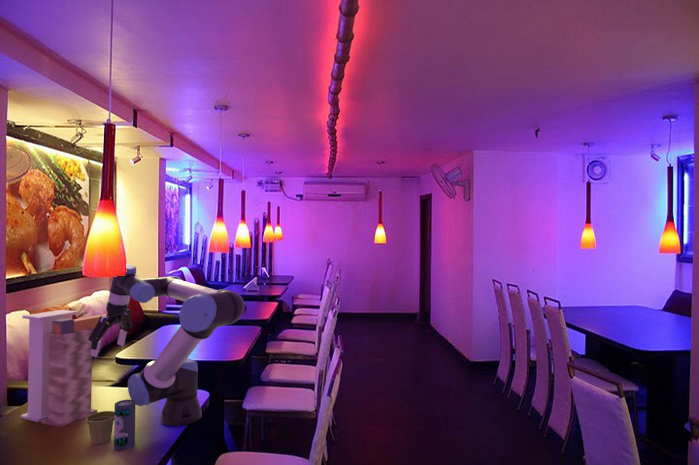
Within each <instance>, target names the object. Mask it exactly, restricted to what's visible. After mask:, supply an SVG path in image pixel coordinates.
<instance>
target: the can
mask: <svg viewBox="0 0 699 465" xmlns="http://www.w3.org/2000/svg"><path fill="white" fill-rule="evenodd" d="M114 412H115V414H114V423H113V434H114V435H113V450H114V451H116V452H124V451H128V450H129V451H130V450H131V449H133V448H134V447H135V445H136V402H135V400H131V398H130V399H123V400H119V401H117V402H115V403H114Z"/></svg>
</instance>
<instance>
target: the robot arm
mask: <svg viewBox="0 0 699 465" xmlns="http://www.w3.org/2000/svg"><path fill="white" fill-rule="evenodd" d="M126 268H127V272H126V275H125V276H117V277H113V276H112V281H111V285H110V290H109V295H108V298H107V299H108V301H107V302H106V306H105V309H106V314H107V315H106V316H105V317H103V316H100V318H99V321H98V323H97V325H96V326H95V328H94V330H93V332H92V333H91V335H90V337H89V339H88V340H89V341H91V342H92V346H91V354H90V355H91V356H92V358H98V357H99V356H98V355H99V351H100V347H101V340H102V338H103V337H104V335H105V334H106V333H107V331H108V330H109V329H110V328H112V327H113V325H117V324H119V326H120V327H121V329H120V330H119V333H118V338H117V343H116V344H117V345H119V346H121V347H123V346H124V345H125V343H126V338H127V335H128V332H131V329H132V328H133V322H132V316H131V309H128V308H129V303H130V301H131V300H130V299H131V298H132V300H134V301H136V302H138V303H142V304H146V303H148V302H150V301H151V300H153V298H158V297H169V298H172V299H175V300H178V301H182V305H181V306H180V308H179V309H180V310H179V313H180V314H178V316H179V324H180V326H179V328H178V329H177V330H176V331H175V333H174V334H173V335H172V337H171V338H170V340H168V343H167V344H166V345H165V347H164V348H163V350H162V351H161V352H160V353H159V354H158V356H157V358H156V359H155V360H152V361H150V362H148V363H146V366H145V367H144V368H143V370H141V371H140V372H138V373H133V374H132V375H130V377H129V378H128V380H127V391H128V396H129V397H130V400H135V402H136V404H135V406H138V407H143V406H149V405H151V404H153V403H155V402H159V401H161V400H165V402H164V405H163V408H162V411H161V414H160V422H161V424H163V425H165V426H171V427H177V426H186V425H190V424H193V423H196V422H197V421H199V420H201V419H202V417H203V415H202V413H203V412H202V408H201V404H200V401H199V398H198V378H199V376H198V374H199V370H198V368H199V367H198V362H197V361H196V360H195V359H192V358H189V357H190V356H191V354H192V353H193V351H194V350H195V349H196V347H198V345H199V343H200V342H201V341H202V340H206V339H208V338H210V337H211V336H212V335H213V333H214V332H215V330H216V329H217V328H219V327H223V326H228V325H232V324H234V323H236V322H238V321H239V320H240V319H241V317H242V316H243V314H244V312H245V301H244V299H243V297H242V296H241V294H239V293H238V292H236V291H233V290H228V289H225V288H222V289H221V288H220V289H218V290H217V289H214V288H210V287H207V286H203V285H201V284H196V283H191V282H188V281H184V280H183V279H182V278H181V277H179V276H176V275H175V276H171V275H170V276H163V277H162V276H161V277H151V278H149V277H148V278H141V277H139V276H138V275H137V266H135V265H133V264H131V263H126ZM107 322H108V323H109V324H107Z"/></svg>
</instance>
